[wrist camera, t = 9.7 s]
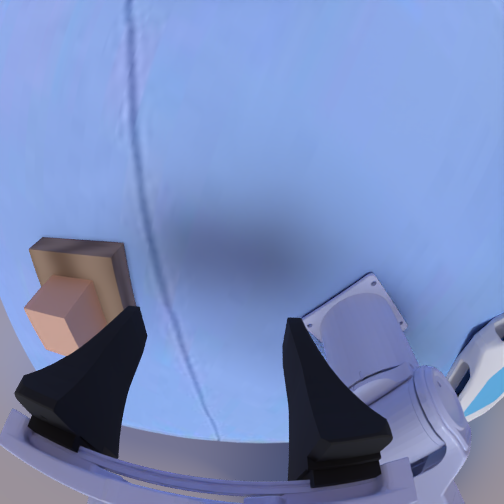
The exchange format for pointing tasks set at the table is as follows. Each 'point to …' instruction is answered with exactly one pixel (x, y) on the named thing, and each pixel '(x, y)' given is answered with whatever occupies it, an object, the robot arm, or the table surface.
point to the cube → (65, 313)
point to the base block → (88, 268)
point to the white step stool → (481, 370)
